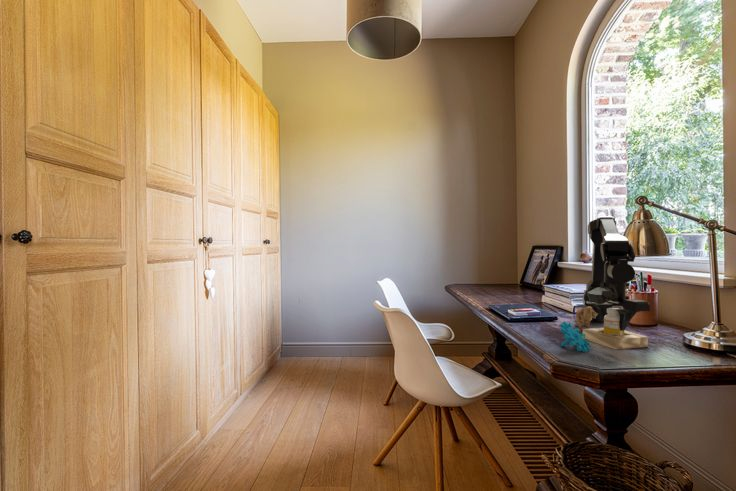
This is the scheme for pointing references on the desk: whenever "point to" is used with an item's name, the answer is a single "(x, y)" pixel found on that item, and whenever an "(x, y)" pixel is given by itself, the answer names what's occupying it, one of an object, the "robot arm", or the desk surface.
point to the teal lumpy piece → (574, 337)
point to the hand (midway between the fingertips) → (613, 328)
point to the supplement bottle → (612, 323)
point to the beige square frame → (616, 339)
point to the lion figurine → (585, 316)
